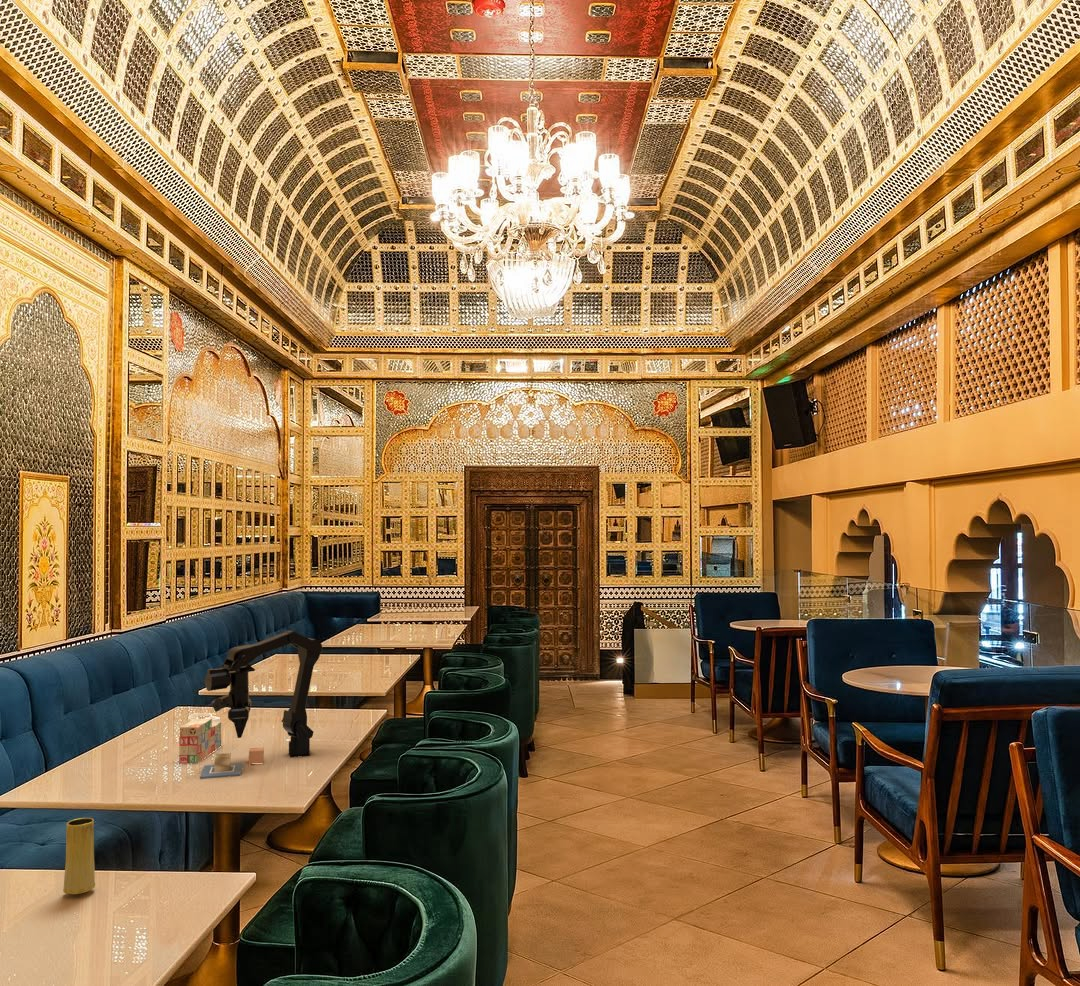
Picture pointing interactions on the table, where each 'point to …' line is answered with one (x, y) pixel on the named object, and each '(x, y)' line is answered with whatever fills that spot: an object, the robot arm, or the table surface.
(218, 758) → the maple block
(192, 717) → the white piece
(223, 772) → the board
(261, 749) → the terracotta block
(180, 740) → the stack of blocks
